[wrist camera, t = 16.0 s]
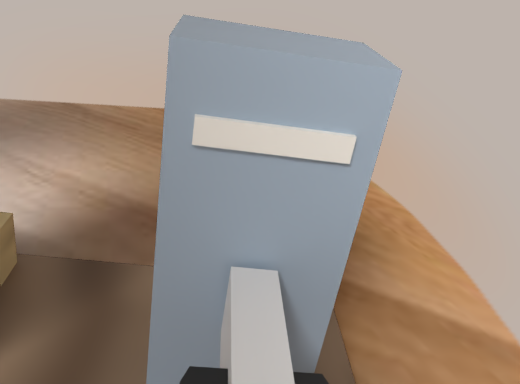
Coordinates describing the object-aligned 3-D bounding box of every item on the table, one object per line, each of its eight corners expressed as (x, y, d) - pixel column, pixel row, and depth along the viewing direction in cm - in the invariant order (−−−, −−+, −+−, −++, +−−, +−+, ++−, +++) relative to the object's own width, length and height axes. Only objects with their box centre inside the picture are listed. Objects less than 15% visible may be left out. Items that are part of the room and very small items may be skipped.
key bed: (-722, 731, 10) (-926, 634, 8) (-153, 261, 25) (-175, 186, 23) (424, 702, 13) (482, 627, 11) (320, 301, 28) (337, 238, 26)
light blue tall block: (142, 422, 18) (168, 36, 11) (157, 339, 21) (183, 14, 15) (299, 429, 18) (405, 72, 12) (287, 348, 22) (363, 42, 16)
